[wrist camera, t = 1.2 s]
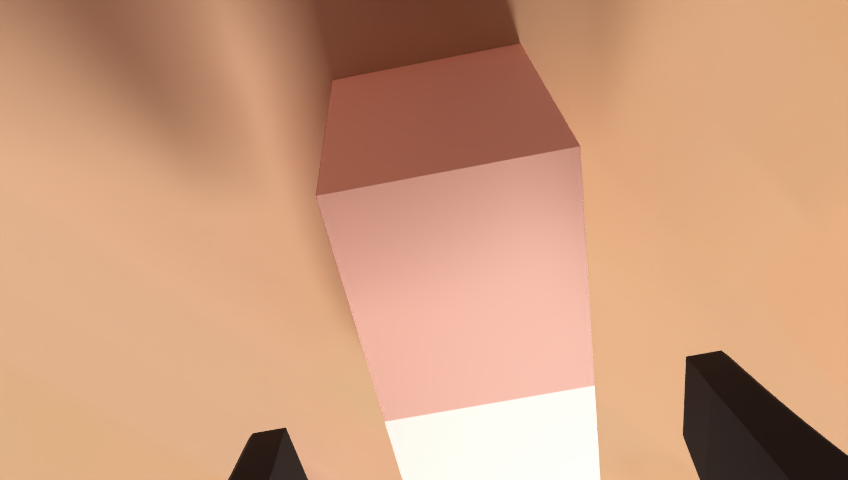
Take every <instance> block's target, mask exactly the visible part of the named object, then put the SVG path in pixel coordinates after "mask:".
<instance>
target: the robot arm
mask: <svg viewBox="0 0 848 480" xmlns="http://www.w3.org/2000/svg"><path fill="white" fill-rule="evenodd" d="M683 436H684V439H685V442H686V444H687V447H688V450H689V452H690V455H691V458H692V460H693V463H694V466H695V468H696V471H697V473H698V476H699V478H700V480H848V455H846V454H845V453H844V452H842V451H841V450H840V449H838V448H837V447H836V446H835V445H833V444H832V443H831V442H830V441H828V440H827V439H826V438H825V437H823V436H822V435H821V434H820V433H818V432H817V431H816V430H815V429H813V428H812V427H811V426H810V425H808V424H807V423H806V422H804V421H803V420H802V419H801V418H800V417H798V416H797V415H796V414H795V413H794V412H792V411H791V410H790V409H789V408H788V407H786V406H785V405H784V404H783V403H782V402H780V401H779V400H778V399H777V398H776V397H775V396H773V395H772V394H771V393H770V392H769V391H768V390H766V389H765V388H764V387H763V386H762V385H761V384H760V383H758V382H757V381H756V380H755V379H754V378H753V377H752V376H750V375H749V374H748V373H747V372H746V371H745V370H744V369H743V368H741V367H740V366H739V365H738V364H737V363H736V362H735V361H734V360H732V359H731V358H730V357H729V356H728V355H727V354H725V353H724V352H722V351H716V352H710V353H705V354H699V355H693V356H688V357H686V374H685V399H684V423H683ZM228 480H308V479H307V477H306V474H305V472H304V470H303V467H302V465H301V462H300V460H299V458H298V455H297V453H296V451H295V448H294V446H293V444H292V441H291V439H290V436H289V434H288V432H287V429H286V428H281V429H275V430H270V431H264V432H258V433H253V434H252V435H251V437H250V438H249V439H248V441H247V443H246V445H245V447H244V449H243V451H242V453H241V455H240V457H239V459H238V461H237V463H236V465H235V467H234V469H233V471H232V473H231V475H230V477H229V479H228Z"/></svg>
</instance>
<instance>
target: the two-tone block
mask: <svg viewBox="0 0 848 480" xmlns="http://www.w3.org/2000/svg"><path fill="white" fill-rule="evenodd" d="M316 198H317V202H318V205H319V208H320V211H321V215H322V218H323V221H324V224H325V228H326V231H327V234H328V238H329V241H330V244H331V247H332V251H333V254H334V257H335V260H336V264H337V267H338V270H339V274H340V277H341V280H342V283H343V287H344V290H345V293H346V296H347V300H348V303H349V306H350V310H351V313H352V316H353V319H354V323H355V326H356V329H357V332H358V336H359V339H360V342H361V345H362V349H363V352H364V355H365V359H366V362H367V365H368V368H369V372H370V375H371V378H372V381H373V385H374V388H375V391H376V395H377V398H378V401H379V404H380V408H381V411H382V414H383V417H384V421H385V424H386V427H387V431H388V434H389V437H390V440H391V444H392V447H393V450H394V453H395V457H396V460H397V463H398V467H399V470H400V473H401V476H402V480H600V469H599V452H598V435H597V419H596V402H595V385H594V368H593V352H592V335H591V318H590V302H589V285H588V268H587V252H586V235H585V218H584V202H583V185H582V168H581V151H580V145H579V143H578V142H577V140H576V138H575V136H574V135H573V133H572V131H571V130H570V128H569V126H568V124H567V123H566V121H565V119H564V118H563V116H562V114H561V113H560V111H559V109H558V107H557V106H556V104H555V102H554V101H553V99H552V97H551V95H550V94H549V92H548V90H547V89H546V87H545V85H544V83H543V82H542V80H541V78H540V77H539V75H538V73H537V71H536V70H535V68H534V66H533V65H532V63H531V61H530V59H529V58H528V56H527V54H526V53H525V51H524V49H523V47H522V46H521V44H520V43H519V44H514V45H509V46H504V47H499V48H493V49H488V50H483V51H478V52H473V53H468V54H463V55H458V56H453V57H448V58H443V59H437V60H432V61H427V62H422V63H417V64H412V65H407V66H402V67H397V68H392V69H386V70H381V71H376V72H371V73H366V74H361V75H356V76H351V77H346V78H341V79H336V80H332V87H331V94H330V101H329V108H328V115H327V121H326V128H325V135H324V142H323V149H322V156H321V163H320V170H319V177H318V184H317V191H316Z"/></svg>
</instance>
